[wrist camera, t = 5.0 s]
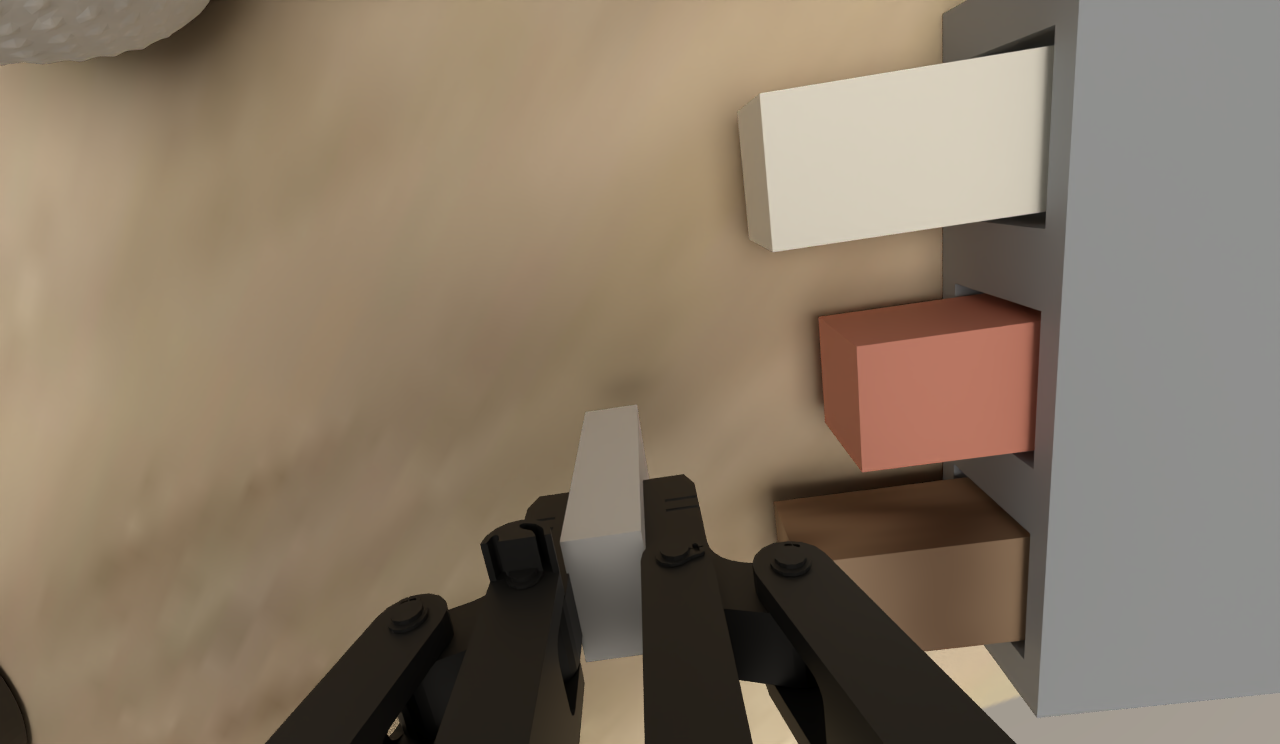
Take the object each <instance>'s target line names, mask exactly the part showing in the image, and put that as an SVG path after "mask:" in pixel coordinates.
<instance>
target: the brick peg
mask: <svg viewBox="0 0 1280 744" xmlns="http://www.w3.org/2000/svg"><path fill="white" fill-rule="evenodd" d="M818 318H819V334H820V349H821V365H822V381H823V397H824V413H825V423H826V424H827V426H828V427H829V428H830V430H831V431H832V432H833V434H834V435H835V436H836V438H837V439H838V441H839V442H840V443H841V445H842V446H843V447H844V449H845V450H846V451H847V453H848V454H849V455H850V457H851V458H852V459H853V461H854V462H855V463H856V465H857V466H858V467H859V469H860V470H861V471H862V472H869V471H877V470H884V469H892V468H900V467H908V466H916V465H923V464H931V463H939V462H947V461H955V460H963V459H970V458H978V457H986V456H994V455H1002V454H1010V453H1017V452H1025V451H1033V450H1035V430H1036V410H1037V389H1038V369H1039V349H1040V328H1041V311H1039V310H1036V309H1033V308H1030V307H1027V306H1024V305H1020V304H1017V303H1014V302H1011V301H1008V300H1005V299H1002V298H999V297H996V296H993V295H989V294H986V293H983V294H976V295H969V296H962V297H955V298H948V299H941V300H934V301H927V302H920V303H913V304H906V305H899V306H892V307H885V308H878V309H871V310H864V311H857V312H850V313H843V314H836V315H829V316H822V317H818Z"/></svg>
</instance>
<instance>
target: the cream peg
mask: <svg viewBox="0 0 1280 744" xmlns="http://www.w3.org/2000/svg"><path fill="white" fill-rule="evenodd" d="M1053 64H1054V45H1052V46H1046V47H1040V48H1034V49H1027V50H1021V51H1015V52H1009V53H1003V54H997V55H991V56H985V57H979V58H973V59H967V60H960V61H954V62H948V63H942V64H936V65H930V66H924V67H918V68H912V69H906V70H899V71H893V72H887V73H881V74H875V75H869V76H863V77H857V78H851V79H845V80H839V81H832V82H826V83H820V84H814V85H808V86H802V87H796V88H790V89H784V90H778V91H772V92H765V93H760V94H758V95H757V96H756V97H755V98H753V99H752V100H751V101H750V102H748V103H747V104H746V105H745V106H743V107H742V108H741V109H740V110H739V111H737V116H738V127H739V137H740V148H741V158H742V169H743V180H744V190H745V201H746V212H747V222H748V233H749V240H751V241H753V242H755V243H757V244H759V245H760V246H762V247H764V248H766V249H768V250H770V251H772V252H778V251H784V250H791V249H798V248H805V247H811V246H818V245H825V244H831V243H838V242H845V241H852V240H858V239H865V238H872V237H878V236H885V235H892V234H898V233H905V232H912V231H919V230H925V229H932V228H939V227H945V226H952V225H959V224H965V223H972V222H979V221H986V220H992V219H999V218H1006V217H1012V216H1019V215H1026V214H1033V213H1039V212H1046V206H1047V186H1048V165H1049V145H1050V125H1051V104H1052V84H1053Z"/></svg>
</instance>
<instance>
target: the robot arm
mask: <svg viewBox="0 0 1280 744" xmlns="http://www.w3.org/2000/svg"><path fill="white" fill-rule="evenodd" d="M480 545H481V549H482V553H483V556H484V560H485V564H486V568H487V572H488V575H489V579H490V584H489V587H488V590H487V593H486V595H485V596H483V597H481V598H479V599H477V600H474V601H472V602H470V603H467V604H464V605H461V606H458V607H455V608H453V609H450V610H448V607H447V603H446V601H445V600H444V599H443V598H442V597H441V596H439V595H434V594H421V595H415V596H411V597H409V598H408V597H407V598H405V599H402V600H400V601H399V602H397V603H395V604H394V605H392V606H390V607H388V608H387V609H386V610H385V611H384V612H382V613H381V614H380V615H379V616H378V617H377V618H376V619H375V620H374V621H373V622H372V624H371V625H370V626H369V627H368V628H367V629H366V630H365V631H364V633H363V634H362V635H361V636H360V637H359V638H358V639H357V640H356V642H355V643H354V644H353V645H352V646H351V647H350V648H349V649H348V651H347V652H346V653H345V654H344V655H343V656H342V657H341V659H340V660H339V661H338V662H337V663H336V664H335V665H334V666H333V668H332V669H331V670H330V671H329V672H328V673H327V674H326V675H325V677H324V678H323V679H322V680H321V681H320V682H319V683H318V684H317V686H316V687H315V688H314V689H313V690H312V691H311V692H310V693H309V695H308V696H307V697H306V698H305V699H304V700H303V701H302V702H301V704H300V705H299V706H298V707H297V708H296V709H295V710H294V712H293V713H292V714H291V715H290V716H289V717H288V718H287V719H286V721H285V722H284V723H283V724H282V725H281V726H280V727H279V728H278V730H277V731H276V732H275V733H274V734H273V735H272V736H271V737H270V739H269V740H268V741H267V742H266V743H265V744H579V741H580V729H581V718H582V706H583V695H584V684H585V683H584V677H583V672H582V668H581V663H580V655H581V645H582V646H583V650H584V655H585V659H586V662H591V661H599V660H606V659H613V658H621V657H628V656H635V655H643V686H644V728H645V744H753V743H752V738H751V733H750V729H749V724H748V720H747V715H746V710H745V706H744V701H743V697H742V692H741V687H740V683H739V680H743V681H750V682H757V683H764V684H766V686H767V689H768V692H769V695H770V697H771V698H772V700H773V702H774V703H775V705H776V707H777V708H778V710H779V712H780V714H781V715H782V717H783V719H784V720H785V722H786V724H787V725H788V727H789V729H790V730H791V732H792V734H793V735H794V737H795V739H796V740H797V742H798V744H1016V743H1015V742H1014V741H1013V740H1012V739H1011V738H1010V737H1009V736H1008V735H1007V734H1006V733H1005V732H1004V731H1003V730H1002V729H1001V728H1000V727H999V726H998V725H997V724H996V723H995V722H994V721H993V720H992V719H991V718H990V717H989V716H988V715H987V714H986V713H985V712H984V711H983V710H982V709H981V708H980V707H979V706H978V705H977V704H976V703H975V702H974V701H973V700H972V699H971V698H970V697H969V696H968V695H967V694H966V693H965V692H964V691H963V690H962V689H961V688H960V687H959V686H958V685H957V684H956V683H955V682H954V681H953V680H952V679H951V678H950V677H949V676H948V675H947V674H946V673H945V672H944V671H943V670H942V669H941V668H940V667H939V666H938V665H937V664H936V663H935V662H934V661H933V660H932V659H931V658H930V657H929V656H928V655H927V654H926V653H925V652H924V651H923V650H922V649H921V648H920V647H919V646H918V645H917V644H916V643H915V642H914V641H913V640H912V639H911V638H910V637H909V636H908V635H907V634H906V633H905V632H904V631H903V630H902V629H901V628H900V627H899V626H898V625H897V624H896V623H895V622H894V621H893V620H892V619H891V618H890V617H889V616H888V615H887V614H886V613H885V612H884V611H883V610H882V609H881V608H880V607H879V606H878V605H877V604H876V603H875V602H874V601H873V600H872V599H871V598H870V597H869V596H868V595H867V594H866V593H865V592H864V591H863V590H862V589H861V588H860V587H859V586H858V585H857V584H856V583H855V582H854V581H853V580H852V579H851V578H850V577H849V576H848V575H847V574H846V573H845V572H844V571H843V570H842V569H841V568H840V567H839V566H838V565H837V564H836V563H835V562H834V561H833V560H832V559H831V558H830V557H829V556H828V555H827V554H826V553H825V552H823V551H822V550H820V549H819V548H817V547H816V546H814V545H810V544H807V543H804V542H796V541H784V542H778V543H773V544H771V545H769V546H766V547H764V548H762V549H761V550H760V551H759V552H758V553H757V554H756V555H755V557H754V560H753V563H744V562H737V561H731V560H728V559H725V558H722V557H720V556H719V555H717V554H715V553H714V552H713V551H712V550H711V549H710V548H709V545H708V543H707V539H706V535H705V530H704V526H703V521H702V516H701V512H700V507H699V502H698V498H697V493H696V489H695V484H694V483H693V482H692V481H691V480H690V479H689V478H687V477H686V476H685V475H684V474H682V475H675V476H668V477H661V478H654V479H649V475H648V469H647V462H646V456H645V450H644V444H643V438H642V432H641V426H640V420H639V413H638V407H637V405H630V406H623V407H616V408H609V409H603V410H596V411H589V412H585V416H584V421H583V427H582V432H581V437H580V442H579V447H578V452H577V457H576V462H575V467H574V472H573V477H572V482H571V487H570V492H568V493H561V494H554V495H547V496H540V497H539V498H538V499H537V500H536V501H535V502H534V503H533V504H532V505H531V506H530V507H529V508H528V510H527V513H526V516H525V520H519V521H515V522H511V523H508V524H505V525H503V526H501V527H499V528H497V529H495V530H494V531H492V532H491V533H490V534H488V535H487V536H486V537H485V538H484V540H483V541H482V542H481V544H480ZM397 717H398V718H399V721H400V723H399V725H398V726H397V728H396V729H395V731H394V732H393V733H392V734H391V735H390V736H388V735H387V732H388V730H389V728H390V727H391V725H392V724H393V722H394V721H395V719H396V718H397ZM0 744H27V735H26V729H25V725H24V721H23V718H22V715H21V712H20V709H19V707H18V705H17V702H16V700H15V698H14V696H13V695H12V693H11V691H10V689H9V688H8V686H7V685H6V683H5V681H4V680H3V679H2V677H1V676H0Z"/></svg>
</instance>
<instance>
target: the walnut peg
mask: <svg viewBox="0 0 1280 744" xmlns="http://www.w3.org/2000/svg"><path fill="white" fill-rule="evenodd" d="M774 508H775V519H776V530H777V540H778V542H784V541H796V542H804V543H807V544H810V545H814V546H816V547H817V548H819V549H820V550H822V551H823V552H825V553H826V554H827V555H828V556H829V557H830V558H831V559H832V560H833V561H834V562H835V563H836V564H837V565H838V566H839V567H840V568H841V569H842V570H843V571H844V572H845V573H846V574H847V575H848V576H849V577H850V578H851V579H852V580H853V581H854V582H855V583H856V584H857V585H858V586H859V587H860V588H861V589H862V590H863V591H864V592H865V593H866V594H867V595H868V596H869V597H870V598H871V599H872V600H873V601H874V602H875V603H876V604H877V605H878V606H879V607H880V608H881V609H882V610H883V611H884V612H885V613H886V614H887V615H888V616H889V617H890V618H891V619H892V620H893V621H894V622H895V623H896V624H897V625H898V626H899V627H900V628H901V629H902V630H903V631H904V632H905V633H906V634H907V635H908V636H909V637H910V638H911V639H912V640H913V641H914V642H915V643H916V644H917V645H918V646H919V647H920V648H921V649H922V650H923V651H932V650H941V649H950V648H959V647H968V646H977V645H986V644H995V643H1004V642H1013V641H1022V640H1025V634H1026V613H1027V593H1028V573H1029V552H1030V533H1029V532H1028V531H1027V530H1026V529H1025V528H1023V527H1022V526H1021V525H1020V524H1019V523H1018V522H1017V521H1016V520H1015V519H1014V518H1013V517H1011V516H1010V515H1009V514H1008V513H1007V512H1006V511H1005V510H1004V509H1003V508H1002V507H1001V506H999V505H998V504H997V503H996V502H995V501H994V500H993V499H992V498H991V497H990V496H988V495H987V494H986V493H985V492H984V491H983V490H982V489H981V488H980V487H979V486H978V485H976V484H975V483H974V482H973V481H972V480H971V479H970V478H969V477H965V478H957V479H950V480H942V481H934V482H926V483H918V484H910V485H902V486H894V487H886V488H878V489H870V490H862V491H854V492H846V493H838V494H831V495H823V496H815V497H807V498H799V499H791V500H783V501H775V502H774Z"/></svg>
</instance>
